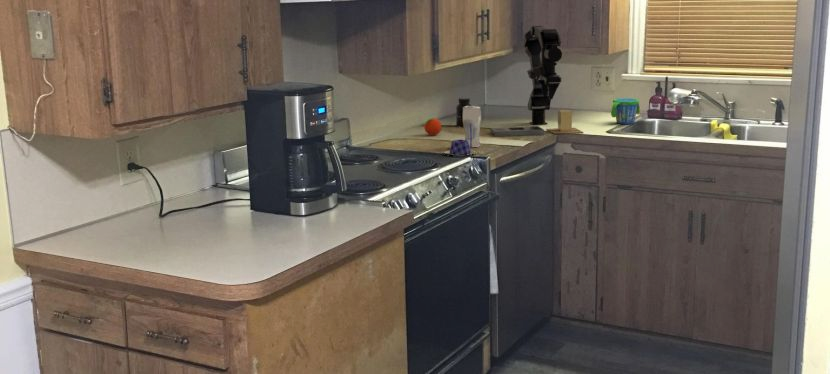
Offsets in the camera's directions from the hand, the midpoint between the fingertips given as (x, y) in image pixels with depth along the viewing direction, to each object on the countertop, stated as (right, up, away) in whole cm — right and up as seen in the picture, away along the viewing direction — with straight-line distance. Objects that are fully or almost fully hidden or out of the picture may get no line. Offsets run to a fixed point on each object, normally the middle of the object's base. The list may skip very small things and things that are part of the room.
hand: (547, 98), depth 377 cm
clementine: (-48, -16, -6) cm, 51 cm away
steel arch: (-14, -15, -7) cm, 21 cm away
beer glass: (-33, -22, -33) cm, 52 cm away
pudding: (-39, -25, -48) cm, 66 cm away
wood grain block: (+6, -14, -4) cm, 16 cm away
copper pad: (+6, -14, -4) cm, 16 cm away
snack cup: (+35, -10, +14) cm, 39 cm away
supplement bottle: (-34, -11, +17) cm, 39 cm away
